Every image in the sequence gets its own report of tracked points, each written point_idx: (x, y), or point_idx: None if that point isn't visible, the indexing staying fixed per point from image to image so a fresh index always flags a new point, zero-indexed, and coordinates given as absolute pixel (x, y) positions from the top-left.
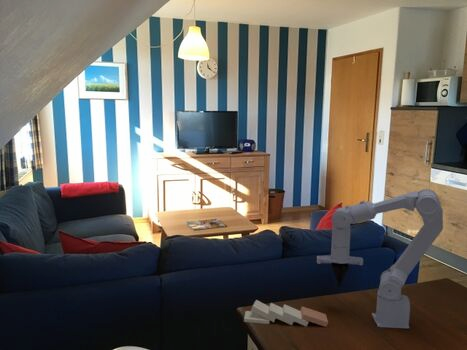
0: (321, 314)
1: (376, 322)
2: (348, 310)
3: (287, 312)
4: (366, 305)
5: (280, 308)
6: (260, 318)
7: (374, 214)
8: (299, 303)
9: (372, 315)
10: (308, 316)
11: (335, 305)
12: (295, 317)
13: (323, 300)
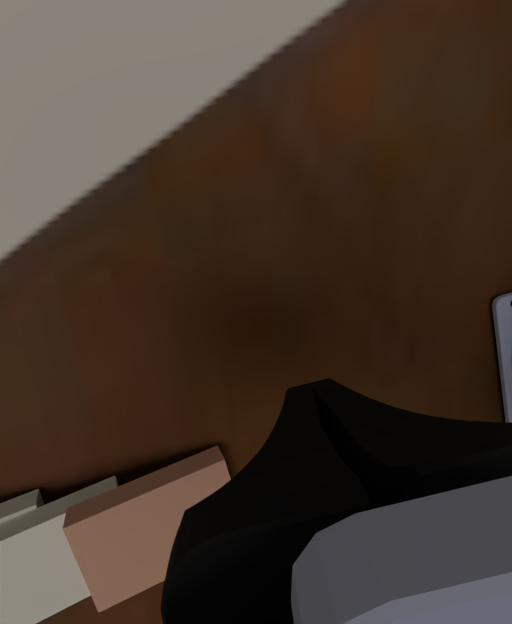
0: (201, 490)
1: (507, 401)
2: (351, 291)
3: None
4: (471, 177)
5: None
6: None
7: None
8: (32, 305)
9: (495, 321)
10: (133, 593)
11: (267, 250)
12: (62, 606)
13: (179, 203)
